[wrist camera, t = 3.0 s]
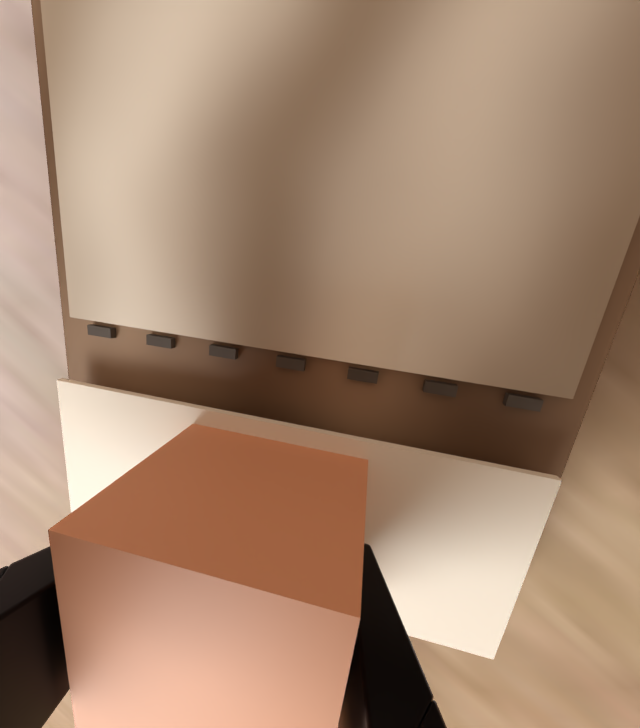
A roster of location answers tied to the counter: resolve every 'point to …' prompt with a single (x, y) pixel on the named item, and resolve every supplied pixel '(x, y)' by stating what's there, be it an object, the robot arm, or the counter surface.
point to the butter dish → (264, 558)
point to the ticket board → (348, 209)
